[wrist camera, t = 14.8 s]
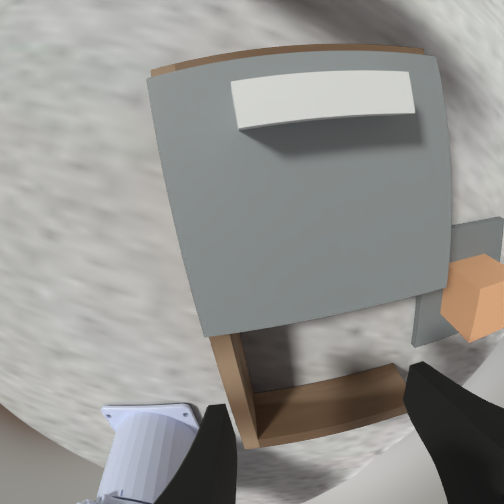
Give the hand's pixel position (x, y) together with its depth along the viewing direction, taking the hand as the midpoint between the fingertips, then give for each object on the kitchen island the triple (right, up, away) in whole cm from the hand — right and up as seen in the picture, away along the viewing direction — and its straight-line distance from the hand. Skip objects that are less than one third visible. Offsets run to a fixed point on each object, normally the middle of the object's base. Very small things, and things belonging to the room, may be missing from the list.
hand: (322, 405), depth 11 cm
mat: (+13, +4, +9) cm, 16 cm away
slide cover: (0, +8, +2) cm, 8 cm away
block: (+13, +3, +8) cm, 16 cm away
